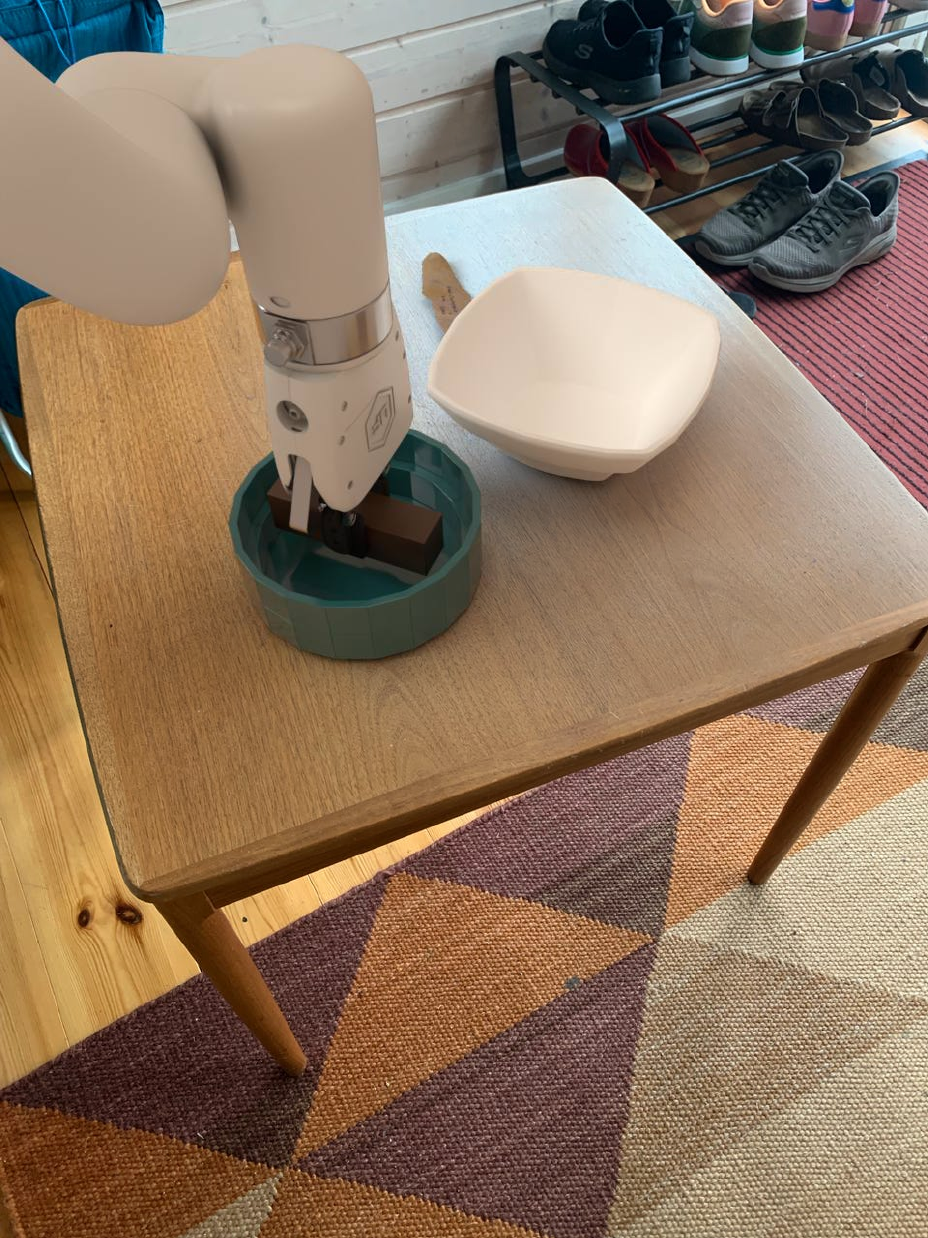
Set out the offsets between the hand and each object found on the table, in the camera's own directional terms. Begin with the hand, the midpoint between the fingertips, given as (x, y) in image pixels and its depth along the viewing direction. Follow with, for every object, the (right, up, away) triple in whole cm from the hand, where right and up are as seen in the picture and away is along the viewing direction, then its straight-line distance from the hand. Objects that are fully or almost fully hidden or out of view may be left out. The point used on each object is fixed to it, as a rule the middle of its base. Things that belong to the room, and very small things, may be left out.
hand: (358, 530), depth 65 cm
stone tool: (+6, +23, +22) cm, 33 cm away
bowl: (+16, +9, +12) cm, 22 cm away
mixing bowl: (0, -2, +3) cm, 4 cm away
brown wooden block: (0, 0, +1) cm, 1 cm away
